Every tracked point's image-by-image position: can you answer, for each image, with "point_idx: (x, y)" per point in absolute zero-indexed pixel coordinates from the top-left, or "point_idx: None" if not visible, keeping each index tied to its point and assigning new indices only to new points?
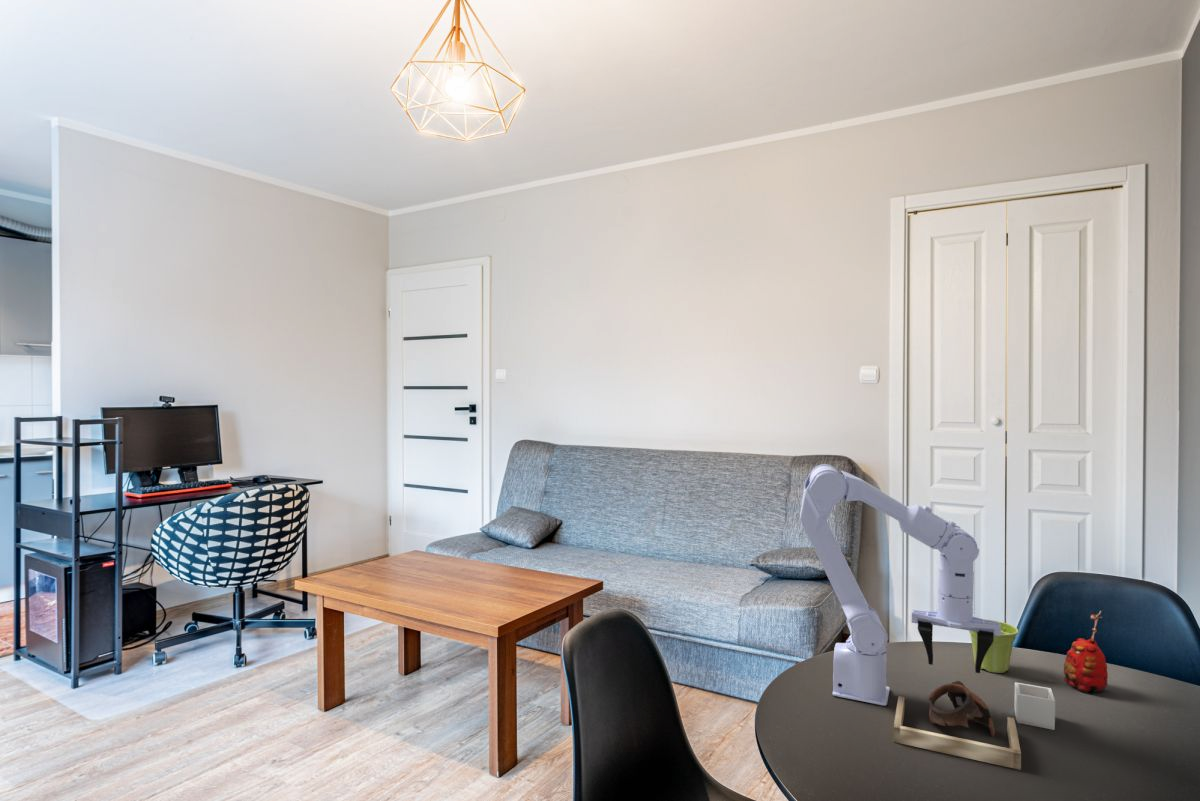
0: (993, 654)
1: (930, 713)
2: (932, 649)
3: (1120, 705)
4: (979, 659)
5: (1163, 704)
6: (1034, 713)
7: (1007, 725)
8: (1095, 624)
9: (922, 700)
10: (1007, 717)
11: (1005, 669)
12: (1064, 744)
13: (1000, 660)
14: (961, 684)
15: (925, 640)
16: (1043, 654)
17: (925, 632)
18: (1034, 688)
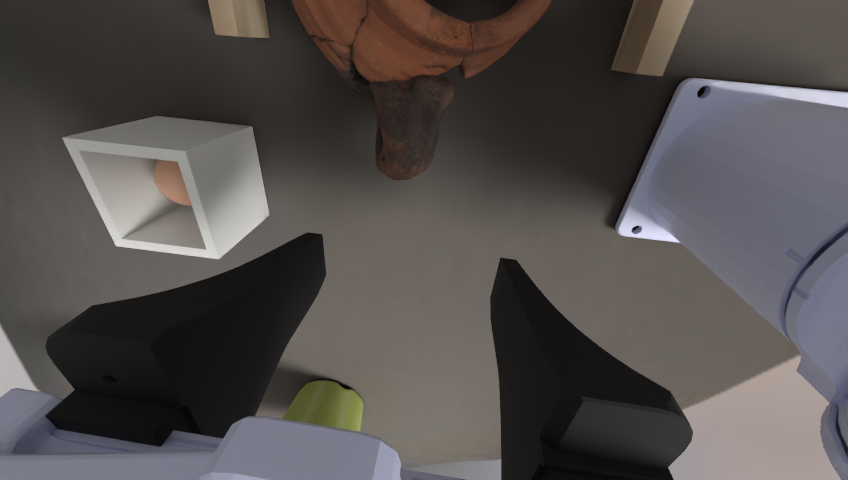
0: (309, 420)
1: None
2: (499, 334)
3: (90, 304)
4: (271, 260)
5: (37, 327)
6: (177, 130)
7: (254, 28)
8: None
9: (518, 188)
10: (239, 34)
11: (301, 390)
12: (107, 11)
13: (300, 407)
14: (386, 126)
15: (579, 340)
16: None
17: (618, 389)
18: (164, 240)
